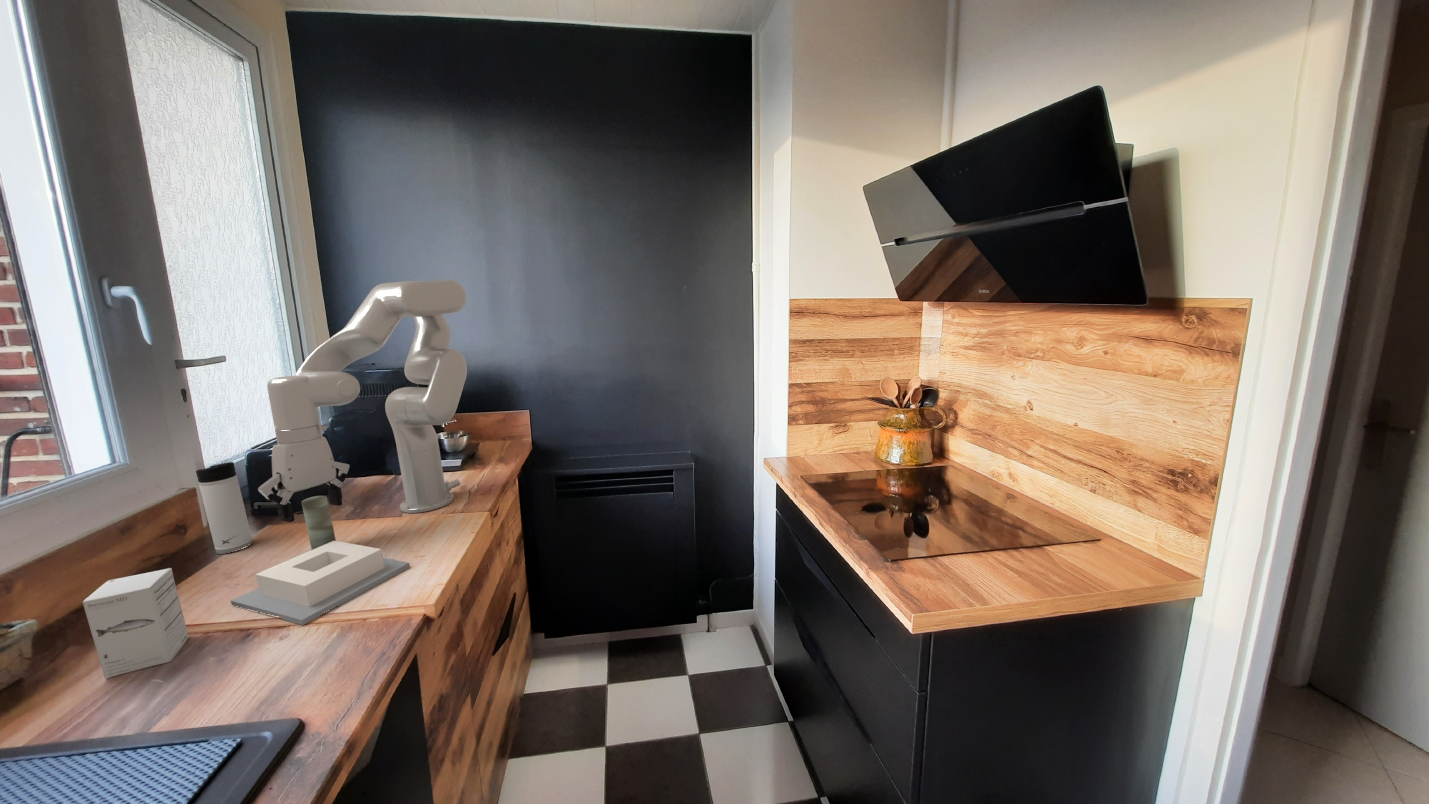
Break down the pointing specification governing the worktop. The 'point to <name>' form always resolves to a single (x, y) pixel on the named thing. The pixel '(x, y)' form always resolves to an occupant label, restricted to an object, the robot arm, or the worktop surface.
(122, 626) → the supplement box
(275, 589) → the socket block
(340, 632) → the worktop surface
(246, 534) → the travel mug
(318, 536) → the peg
